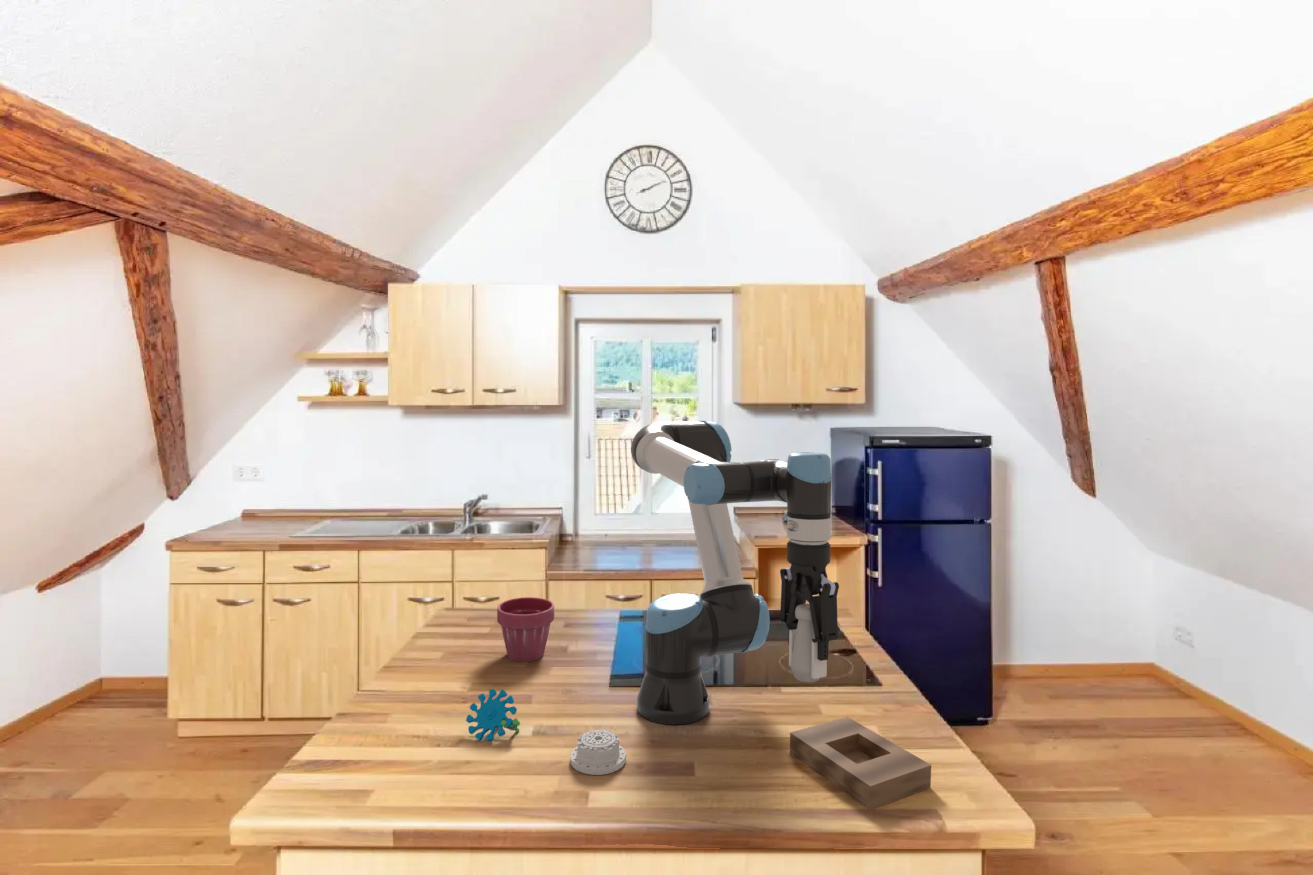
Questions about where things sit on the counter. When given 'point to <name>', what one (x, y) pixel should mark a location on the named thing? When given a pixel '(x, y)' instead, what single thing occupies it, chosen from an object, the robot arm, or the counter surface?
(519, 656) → the plant pot
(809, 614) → the salt shaker
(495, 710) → the coronavirus model
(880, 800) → the stand
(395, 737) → the counter surface
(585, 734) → the mechanical component
